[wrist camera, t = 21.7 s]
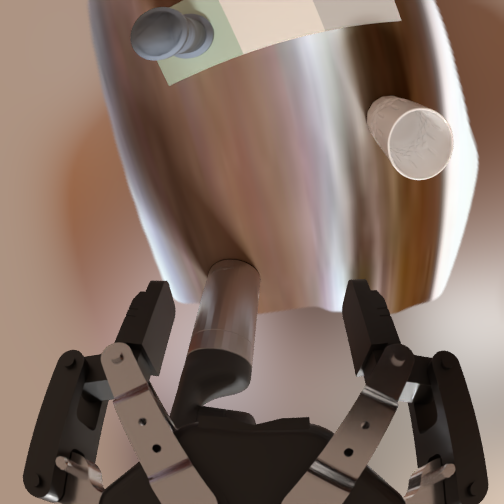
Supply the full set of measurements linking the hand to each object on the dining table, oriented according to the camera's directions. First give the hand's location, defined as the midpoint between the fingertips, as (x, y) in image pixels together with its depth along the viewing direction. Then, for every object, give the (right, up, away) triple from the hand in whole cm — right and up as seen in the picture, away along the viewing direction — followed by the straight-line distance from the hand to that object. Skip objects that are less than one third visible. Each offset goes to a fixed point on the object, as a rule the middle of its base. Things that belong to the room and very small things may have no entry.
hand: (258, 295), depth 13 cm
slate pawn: (-8, +27, +14) cm, 31 cm away
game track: (+2, +30, +11) cm, 32 cm away
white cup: (+17, +19, +19) cm, 32 cm away
